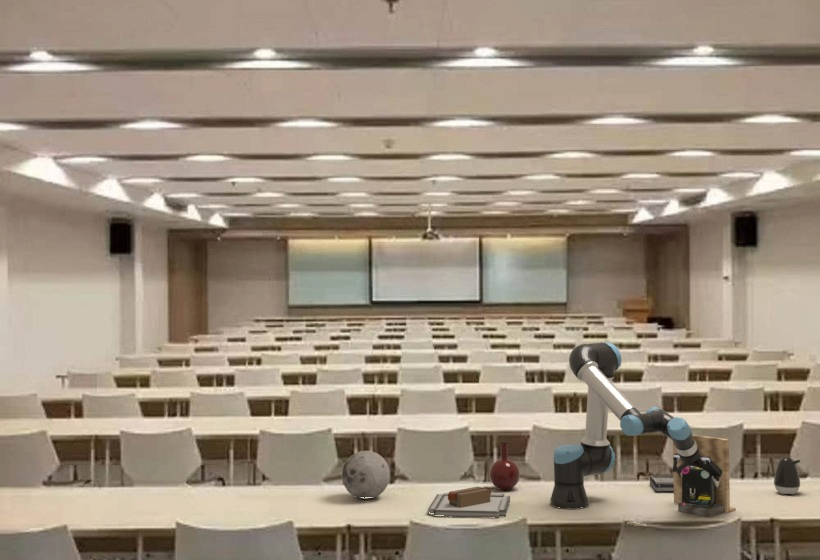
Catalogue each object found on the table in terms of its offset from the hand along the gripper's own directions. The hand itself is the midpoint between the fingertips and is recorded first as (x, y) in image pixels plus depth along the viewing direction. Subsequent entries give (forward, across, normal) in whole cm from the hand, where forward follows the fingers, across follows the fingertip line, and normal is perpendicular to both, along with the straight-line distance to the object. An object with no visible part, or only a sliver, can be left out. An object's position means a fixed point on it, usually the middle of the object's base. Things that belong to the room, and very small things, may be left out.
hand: (701, 482), depth 389 cm
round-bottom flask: (+4, -85, -11) cm, 85 cm away
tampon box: (+3, 0, -8) cm, 9 cm away
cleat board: (+9, -3, -6) cm, 11 cm away
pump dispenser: (+40, +20, +24) cm, 51 cm away
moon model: (-27, -126, -42) cm, 136 cm away
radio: (+33, -21, +16) cm, 42 cm away
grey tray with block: (-21, -80, -38) cm, 91 cm away
